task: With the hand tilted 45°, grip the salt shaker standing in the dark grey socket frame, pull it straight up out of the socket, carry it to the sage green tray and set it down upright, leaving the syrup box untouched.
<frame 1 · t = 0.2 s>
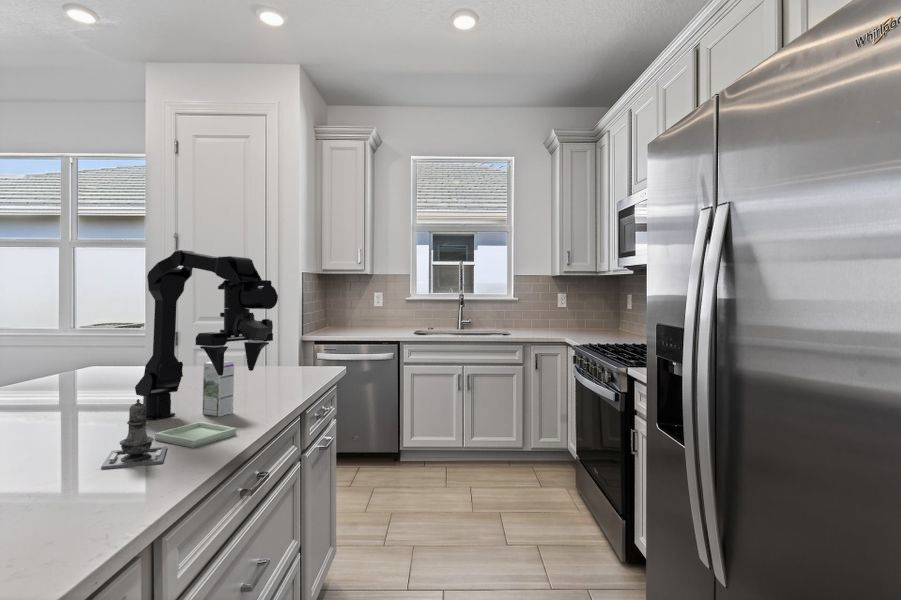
hand: (236, 372, 121), 14 cm above the countertop, tool pointing down, fingers open, 9 cm apart
socket: (136, 458, 101), on the countertop
tray: (196, 436, 116), on the countertop
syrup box: (217, 414, 138), on the countertop
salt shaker: (136, 459, 101), resting in socket
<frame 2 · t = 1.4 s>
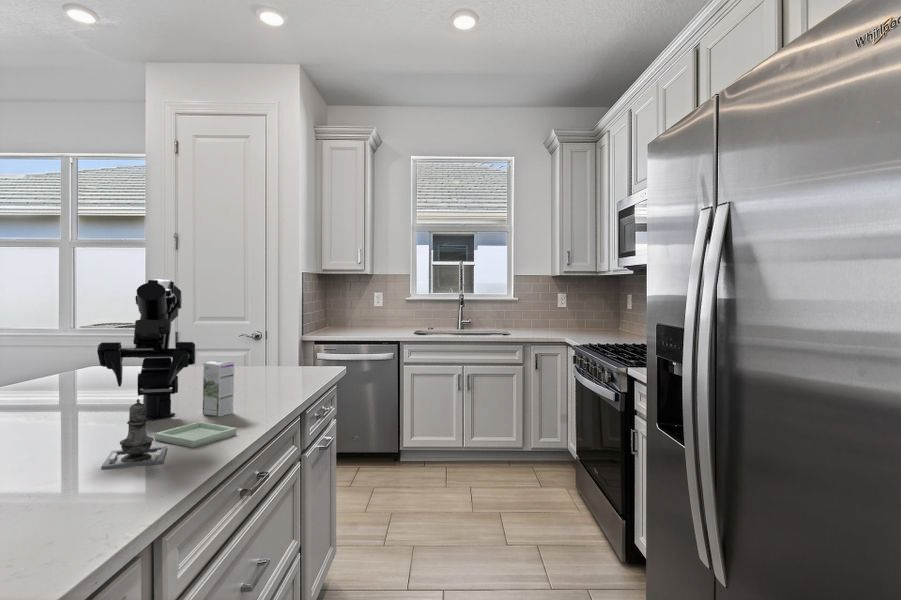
hand: (144, 384, 108), 13 cm above the countertop, tool tilted 45°, fingers open, 9 cm apart
nothing on the countertop moved.
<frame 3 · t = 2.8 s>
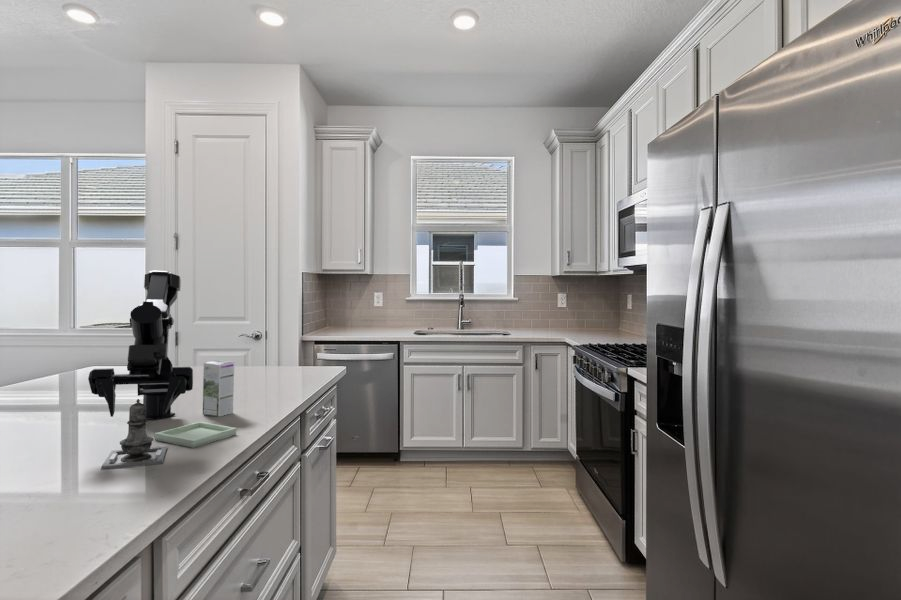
hand: (138, 414, 102), 9 cm above the countertop, tool tilted 45°, fingers open, 9 cm apart
nothing on the countertop moved.
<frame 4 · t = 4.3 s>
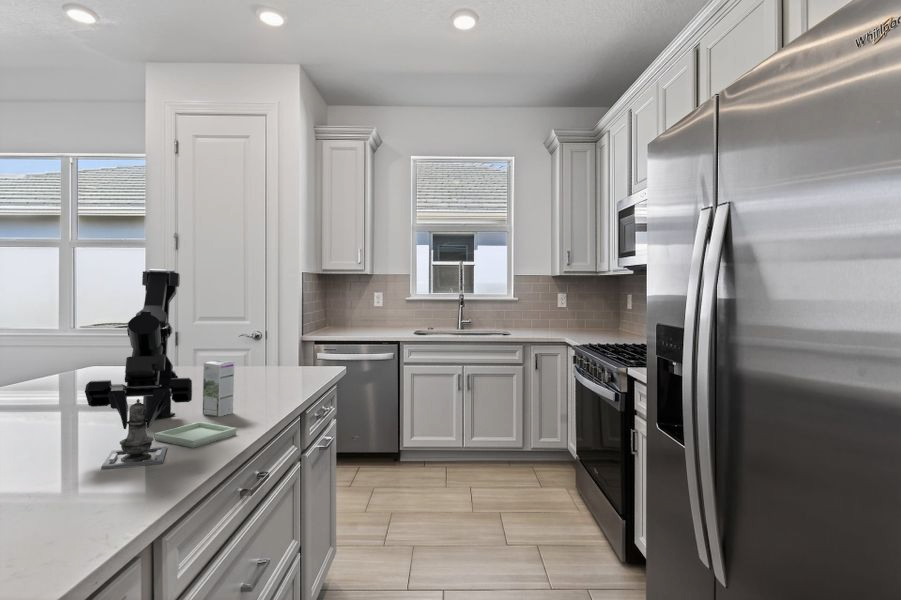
hand: (136, 427, 99), 7 cm above the countertop, tool tilted 45°, fingers closed on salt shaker, 4 cm apart
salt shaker: (136, 459, 101), resting in socket, touching gripper
everything else where it was.
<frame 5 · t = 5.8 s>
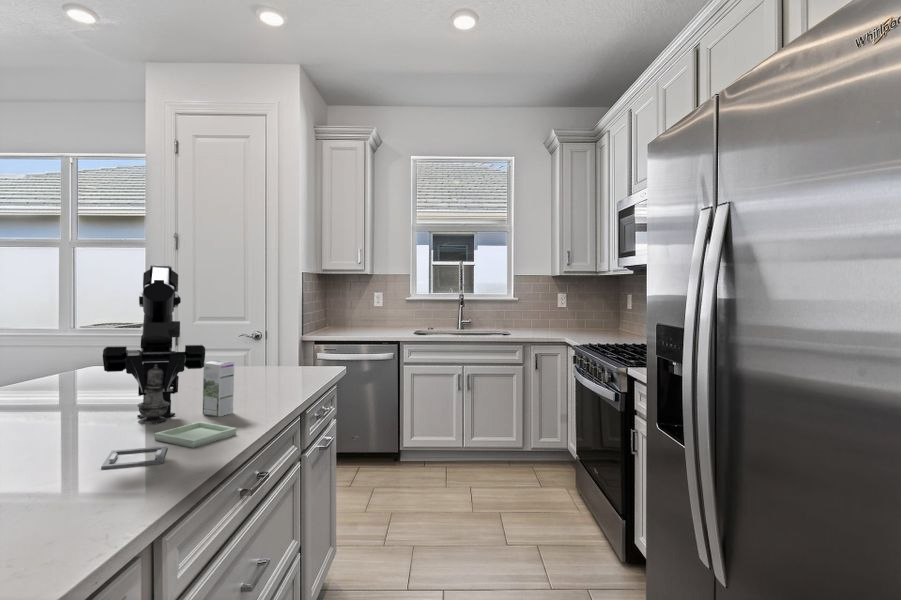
hand: (154, 390, 103), 13 cm above the countertop, tool tilted 45°, fingers closed on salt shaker, 4 cm apart
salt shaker: (152, 422, 104), point 6 cm above the countertop, touching gripper
everything else where it was.
when the fingers open (8 cm above the countertop, at t = 7.7 s): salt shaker drops 1 cm, resting on tray.
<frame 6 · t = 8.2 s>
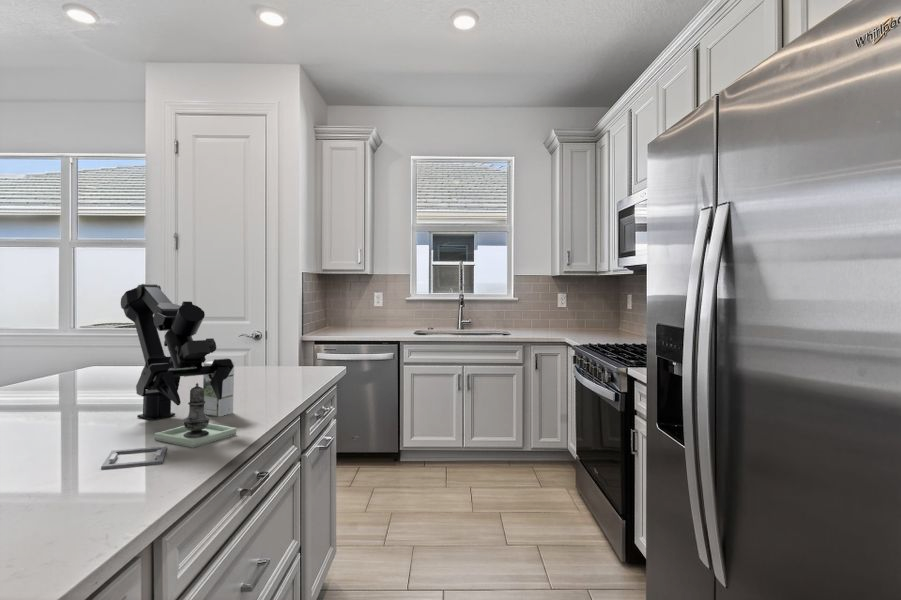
hand: (200, 401, 115), 9 cm above the countertop, tool tilted 45°, fingers open, 9 cm apart
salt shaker: (196, 435, 116), resting on tray
everything else where it was.
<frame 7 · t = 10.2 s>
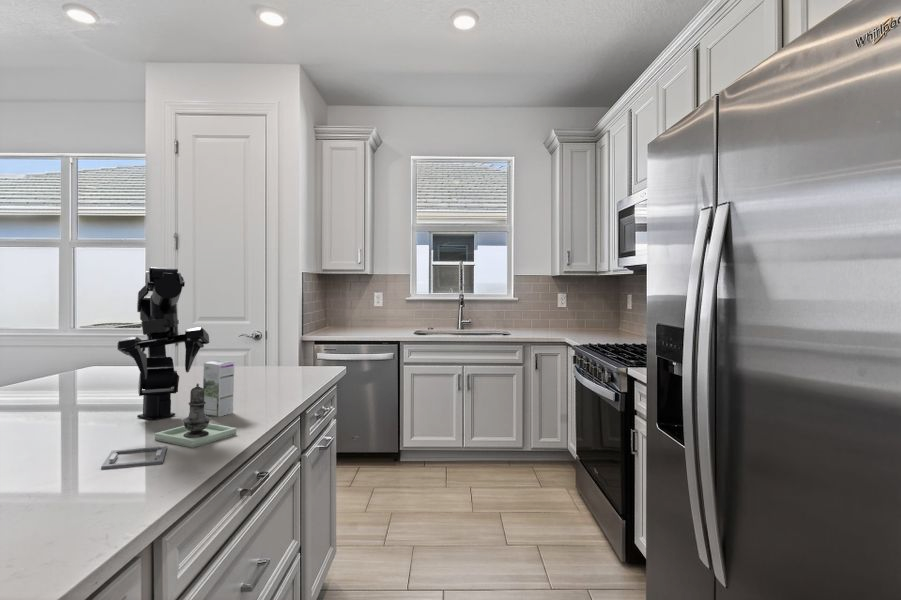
hand: (166, 375, 119), 14 cm above the countertop, tool tilted 25°, fingers open, 9 cm apart
nothing on the countertop moved.
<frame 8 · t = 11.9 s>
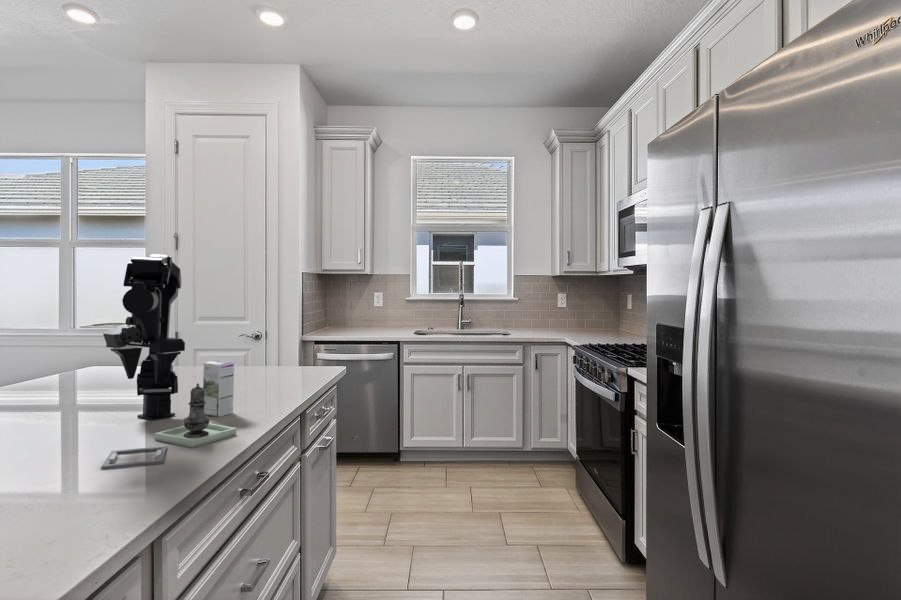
hand: (144, 380, 114), 13 cm above the countertop, tool pointing down, fingers open, 9 cm apart
nothing on the countertop moved.
at the end: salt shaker inside the target area on the tray (0.2 cm from its centre), point 0.3 cm above the tray's base; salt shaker tilted 0°; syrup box moved 0.2 cm from its start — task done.
